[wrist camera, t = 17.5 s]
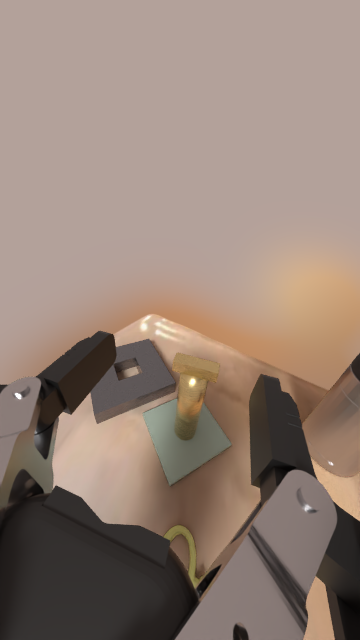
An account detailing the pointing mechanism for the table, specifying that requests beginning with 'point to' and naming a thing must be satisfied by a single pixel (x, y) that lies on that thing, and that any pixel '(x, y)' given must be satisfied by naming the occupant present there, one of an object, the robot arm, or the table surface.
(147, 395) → the cover plate
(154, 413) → the mat
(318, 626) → the table surface
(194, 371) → the t key
